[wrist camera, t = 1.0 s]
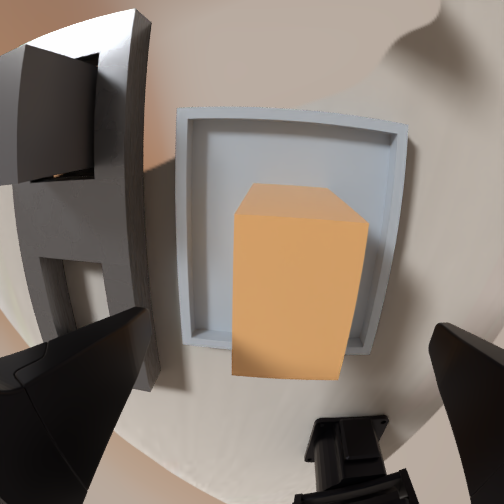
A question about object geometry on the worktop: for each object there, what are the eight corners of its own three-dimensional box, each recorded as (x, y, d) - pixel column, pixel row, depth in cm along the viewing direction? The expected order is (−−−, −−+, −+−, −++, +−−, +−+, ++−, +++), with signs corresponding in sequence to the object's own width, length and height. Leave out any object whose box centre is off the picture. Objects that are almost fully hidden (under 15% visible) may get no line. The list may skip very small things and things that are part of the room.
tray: (364, 341, 20) (369, 354, 18) (188, 331, 21) (182, 344, 19) (398, 125, 15) (408, 124, 14) (185, 110, 16) (176, 107, 15)
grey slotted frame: (160, 370, 22) (150, 392, 20) (66, 350, 22) (52, 366, 20) (151, 22, 14) (135, 8, 12) (41, 51, 15) (19, 46, 12)
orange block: (316, 289, 18) (337, 379, 11) (249, 285, 19) (231, 375, 11) (327, 188, 16) (369, 223, 9) (253, 183, 17) (234, 214, 9)
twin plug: (107, 164, 17) (18, 183, 10) (59, 168, 17) (-30, 189, 10) (111, 71, 15) (25, 44, 8) (62, 82, 16) (-25, 69, 8)
